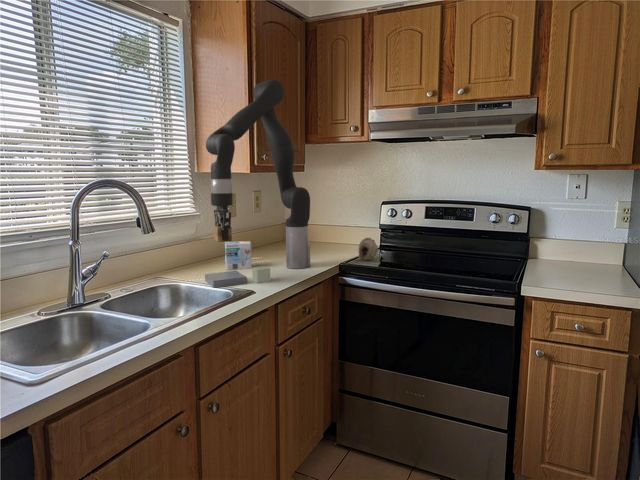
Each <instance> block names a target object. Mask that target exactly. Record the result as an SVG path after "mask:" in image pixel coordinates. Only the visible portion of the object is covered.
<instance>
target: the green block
mask: <svg viewBox="0 0 640 480" xmlns="http://www.w3.org/2000/svg"><path fill="white" fill-rule="evenodd" d="M251 269H252V281H253V282H254V283H256V284H262V283H264V282H265V283H270V282H271V268H270V267H268V266H266V265H264V266H262V265H261V266H253V267H252V268H251Z"/></svg>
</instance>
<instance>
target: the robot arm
mask: <svg viewBox="0 0 640 480" xmlns="http://www.w3.org/2000/svg"><path fill="white" fill-rule="evenodd" d="M285 91H286V90H285V86H284V85H283V83H282V82H281V81H280V80H277V79H268V80H265V81H262V82H258V83H257V84H256V85H254V87H253V93H252V94H253V99H254V100H253V101H252V102H250V103H249V104H247V105H246V106H244V107H243V108H242V109H240V110H239V111H237V112H236V113H235V114H234V115H233V116H232V117H231V118H230V119H229V120H228V121H227V122H226V123H225V124H223V125H222V126H221V127H219V128H218V129H217V130H215V131H213V132H212V133H211V134H209V136H208V137H207V139H206V141H205V149H206V151H207V152H208V153H209V154H210V155H214V156H216V159H215V161H214V162H212V163H211V164H210V204H211V206H214V207H216V209H214V210H213V214H214V222H215V223H214V225H215V226H214V227H216V226H221V229H222V240H223V241H228V240H229V236H228V230H229V229H230V228H231V229H232V226H231V225H232V212H231V211H229V208H228V207H229V206H233V203H234V202H233V199H234V198H233V197H234V196H233V183H232V165H233V160H234V154H235V150H236V146H235V142H234V141H238V140H240V139H241V138H242V137H243V136H244V135H245V134H246V133H247V132H248V131H249V130H250V129H251V127H252V126H254V124H255V123H256V122H257V121H259V119H261V121H262V124H263V129H264V132H265V134H266V138H267V142H268V147H269V150H270V151H269V152H270V155H271V157H272V160H273V165H274V169H275V172H276V175H277V181H278V188H279V193H280V199H281V202H282V205H284V207H285V208H287V209H289V210H290V215H289V217H288V218H286V219H285V256H286V258H285V259H286V266H285V267H286V268H287V269H288V268H289V269H297V270H299V269H300V270H301V269H307V268H309V267H311V244H310V243H309V226H308V225H309V221H310V217H311V196H310V193H309V191H308V189H306V188H305V187H301V186H297V185H296V182H295V178H294V177H295V176H294V164H295V158H296V157H295V155H296V153H295V149H294V145H293V141H292V137H291V135H290V133H289V132H288V131H287V129H286V128H285V126H283V124H282V123H281V122H280V120H279V118H278V116H277V113H276V109H275V107H276V106H278V105H279V104H280V103H282V102H283V100H284V98H285V95H286V92H285ZM228 242H229V241H228Z"/></svg>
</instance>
